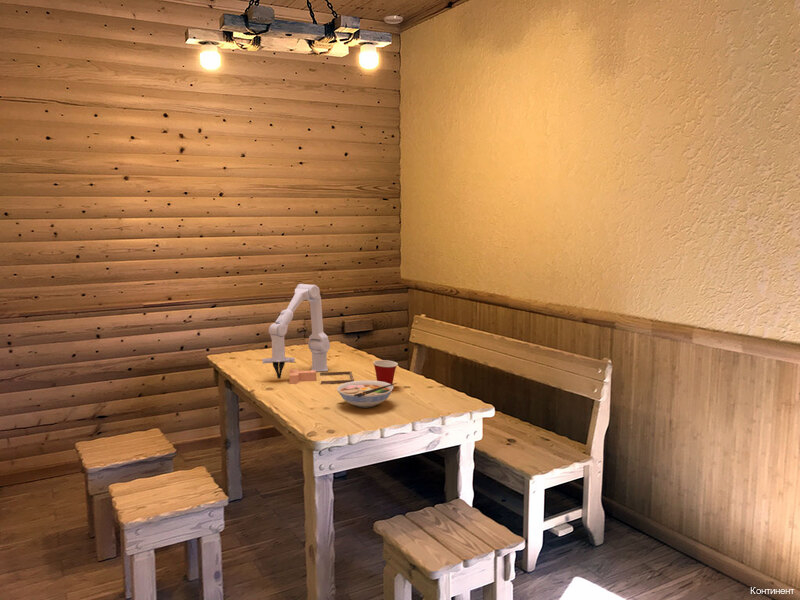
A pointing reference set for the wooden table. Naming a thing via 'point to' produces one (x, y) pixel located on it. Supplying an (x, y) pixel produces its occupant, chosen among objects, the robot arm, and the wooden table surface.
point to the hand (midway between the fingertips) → (279, 378)
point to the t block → (301, 376)
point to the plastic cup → (385, 370)
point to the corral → (337, 380)
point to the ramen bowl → (365, 392)
